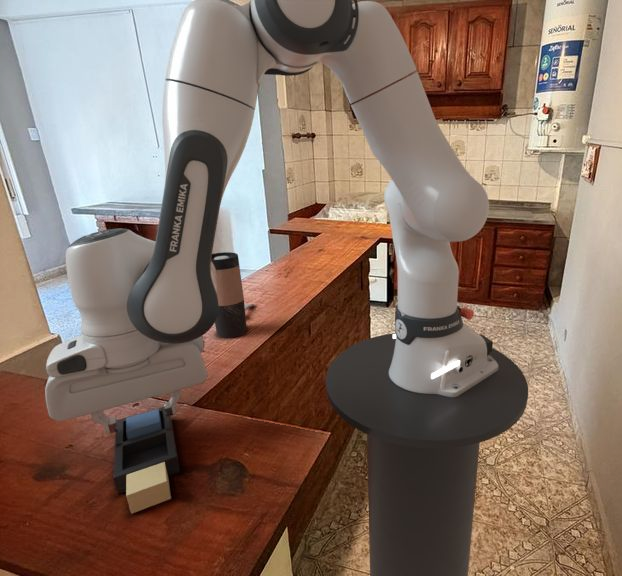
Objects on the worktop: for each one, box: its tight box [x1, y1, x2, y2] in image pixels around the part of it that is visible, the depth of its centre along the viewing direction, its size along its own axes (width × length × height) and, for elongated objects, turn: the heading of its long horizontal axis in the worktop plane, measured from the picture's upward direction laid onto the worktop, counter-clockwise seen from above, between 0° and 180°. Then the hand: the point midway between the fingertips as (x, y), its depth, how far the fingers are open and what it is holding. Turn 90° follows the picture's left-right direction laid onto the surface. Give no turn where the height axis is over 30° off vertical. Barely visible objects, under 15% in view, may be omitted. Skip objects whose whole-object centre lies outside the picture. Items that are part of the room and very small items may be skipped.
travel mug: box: [211, 251, 248, 339], centre depth 98 cm, size 8×8×20 cm
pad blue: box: [125, 408, 163, 440], centre depth 62 cm, size 4×4×3 cm
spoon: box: [244, 303, 254, 311], centre depth 113 cm, size 3×12×2 cm, turn 0°
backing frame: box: [113, 406, 181, 495], centre depth 60 cm, size 8×14×3 cm, turn 31°
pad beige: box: [125, 462, 172, 515], centre depth 52 cm, size 4×4×3 cm
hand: (142, 422), depth 62 cm, fingers open, 7 cm apart
